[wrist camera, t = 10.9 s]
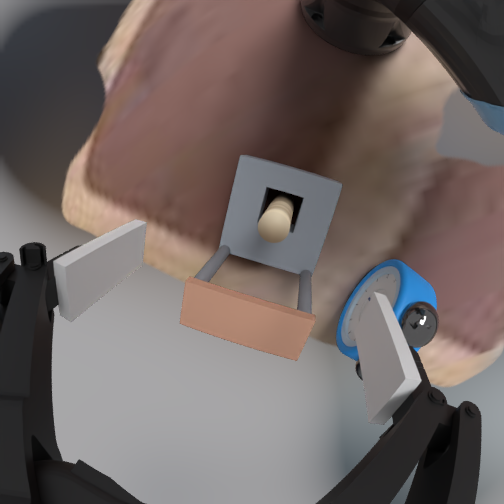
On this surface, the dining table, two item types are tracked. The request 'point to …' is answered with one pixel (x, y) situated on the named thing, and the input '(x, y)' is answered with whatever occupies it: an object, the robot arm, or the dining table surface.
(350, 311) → the alarm clock
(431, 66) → the dining table surface
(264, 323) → the socket station
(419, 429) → the robot arm
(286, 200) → the peg
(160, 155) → the dining table surface
